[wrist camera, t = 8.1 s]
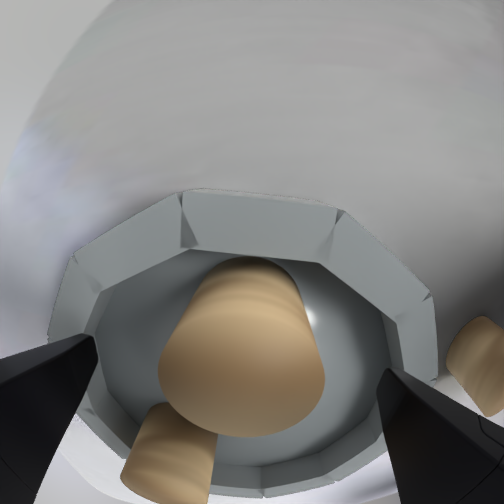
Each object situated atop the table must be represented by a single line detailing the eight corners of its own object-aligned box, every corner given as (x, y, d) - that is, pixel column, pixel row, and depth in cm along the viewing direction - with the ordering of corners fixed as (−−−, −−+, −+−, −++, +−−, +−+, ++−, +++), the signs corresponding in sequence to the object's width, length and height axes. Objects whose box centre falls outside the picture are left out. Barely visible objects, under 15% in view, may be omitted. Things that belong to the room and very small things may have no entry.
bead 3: (492, 304, 12) (540, 338, 7) (489, 351, 13) (526, 388, 8) (445, 337, 13) (490, 384, 8) (445, 382, 14) (478, 428, 9)
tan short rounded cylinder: (193, 396, 13) (172, 471, 8) (231, 441, 14) (224, 508, 9) (133, 407, 13) (103, 468, 9) (173, 448, 14) (156, 506, 10)
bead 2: (291, 354, 12) (305, 440, 7) (195, 344, 12) (164, 424, 7) (309, 262, 11) (344, 324, 6) (198, 250, 11) (152, 303, 6)
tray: (350, 125, 10) (378, 109, 7) (419, 412, 14) (434, 440, 12) (34, 285, 13) (3, 304, 10) (187, 476, 17) (181, 503, 14)
